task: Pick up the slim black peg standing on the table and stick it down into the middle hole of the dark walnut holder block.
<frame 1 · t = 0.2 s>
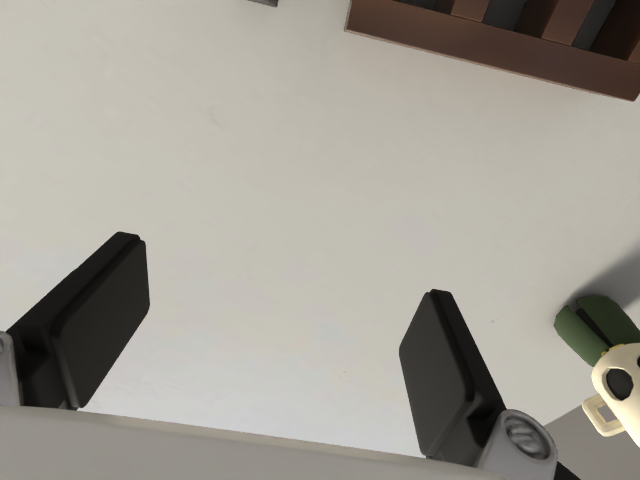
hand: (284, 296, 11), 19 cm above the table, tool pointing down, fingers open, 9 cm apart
character mug: (580, 312, 37), on the table
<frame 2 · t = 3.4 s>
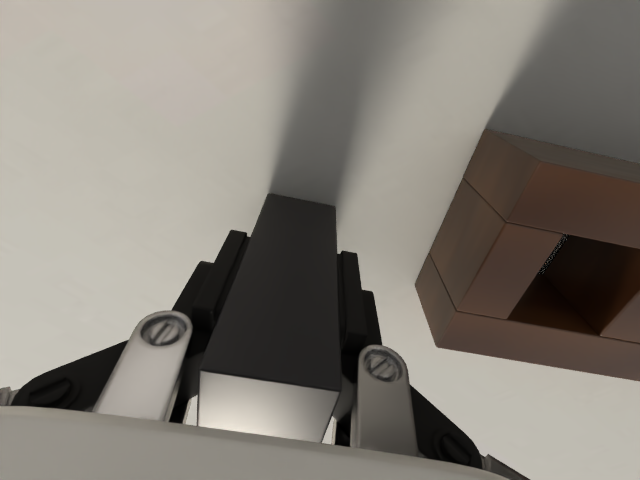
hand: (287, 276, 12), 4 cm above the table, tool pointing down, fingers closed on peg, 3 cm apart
peg: (296, 228, 15), on the table, touching gripper
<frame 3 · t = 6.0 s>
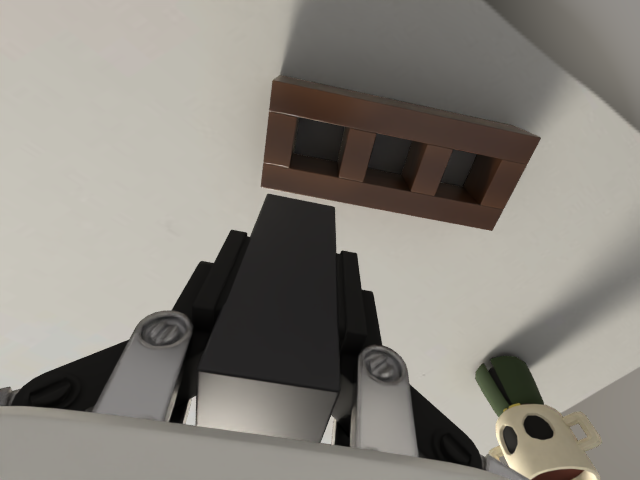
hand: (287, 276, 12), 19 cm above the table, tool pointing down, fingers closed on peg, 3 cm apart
peg: (295, 229, 15), point 15 cm above the table, touching gripper
holder: (386, 149, 29), on the table
character mug: (498, 367, 43), on the table
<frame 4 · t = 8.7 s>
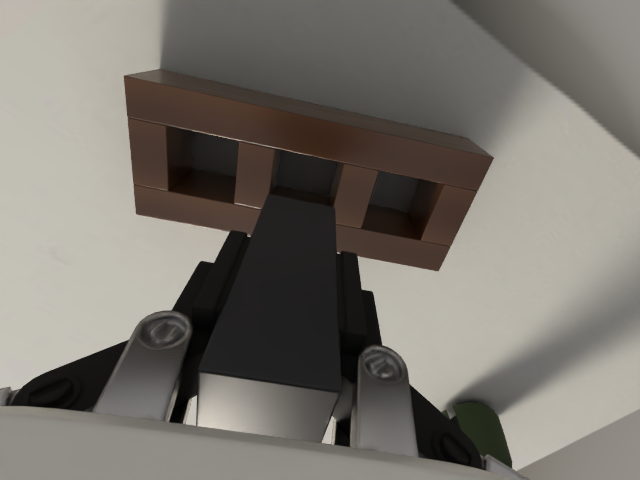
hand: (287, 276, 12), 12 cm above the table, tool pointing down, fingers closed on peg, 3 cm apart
peg: (296, 229, 15), point 9 cm above the table, touching gripper
holder: (307, 165, 23), on the table
character mug: (464, 412, 37), on the table
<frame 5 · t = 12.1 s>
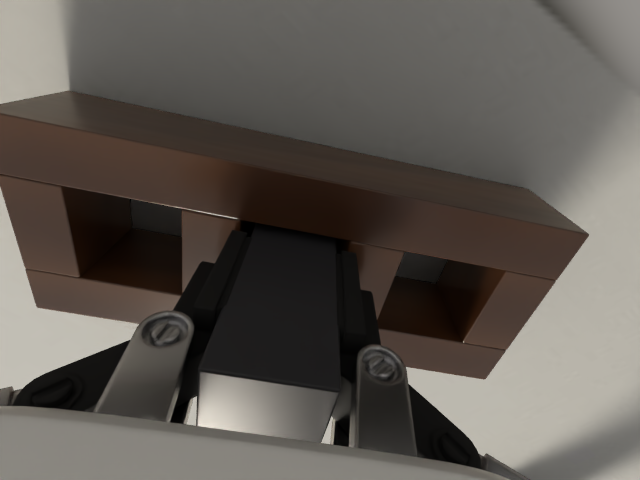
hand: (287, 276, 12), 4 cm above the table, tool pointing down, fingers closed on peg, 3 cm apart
peg: (296, 229, 15), point 1 cm above the table, touching gripper
holder: (296, 223, 16), on the table
when the fingers open (5 cm above the table, at t = 14.3 s): peg drops 1 cm, resting in holder.
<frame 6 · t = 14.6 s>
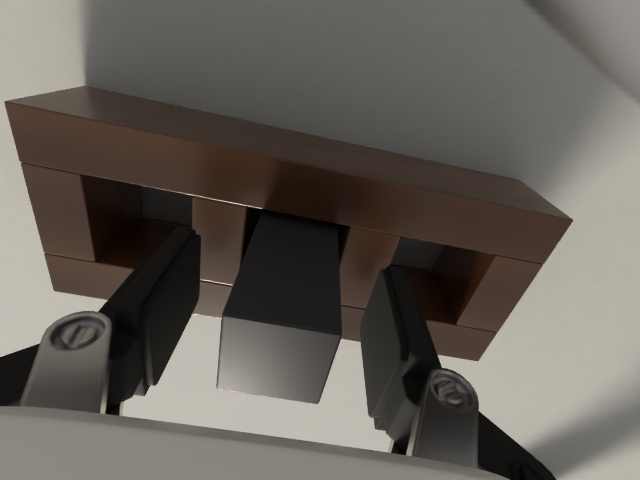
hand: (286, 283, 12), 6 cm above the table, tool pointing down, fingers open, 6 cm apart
peg: (300, 213, 17), resting in holder
holder: (298, 213, 17), on the table
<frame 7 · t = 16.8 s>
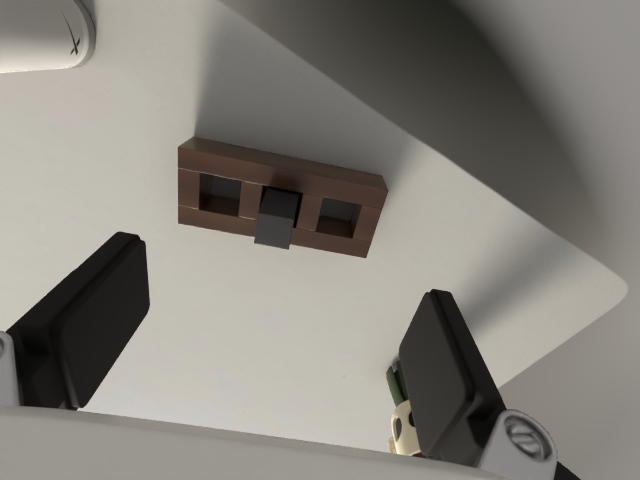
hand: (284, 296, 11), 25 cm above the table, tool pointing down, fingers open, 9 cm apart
peg: (284, 191, 36), resting in holder
holder: (284, 192, 36), on the table
travel mug: (62, 25, 29), on the table
character mug: (406, 369, 50), on the table
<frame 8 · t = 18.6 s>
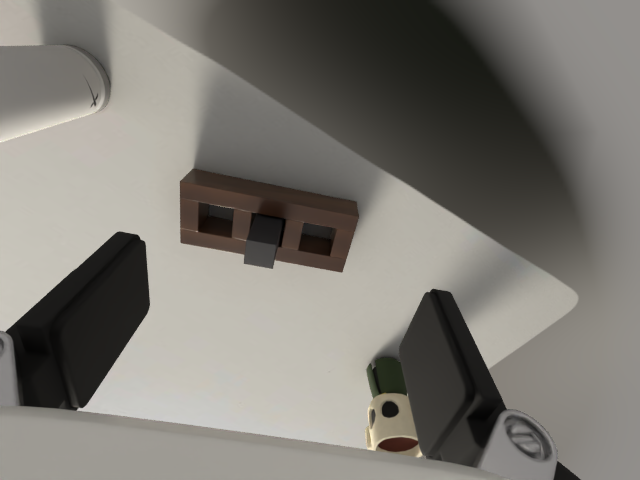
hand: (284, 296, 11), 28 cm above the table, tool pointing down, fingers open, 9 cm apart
peg: (272, 214, 41), resting in holder
holder: (272, 214, 41), on the table
travel mug: (82, 79, 34), on the table
character mug: (385, 366, 56), on the table
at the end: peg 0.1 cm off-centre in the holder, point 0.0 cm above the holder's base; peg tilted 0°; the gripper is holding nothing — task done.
